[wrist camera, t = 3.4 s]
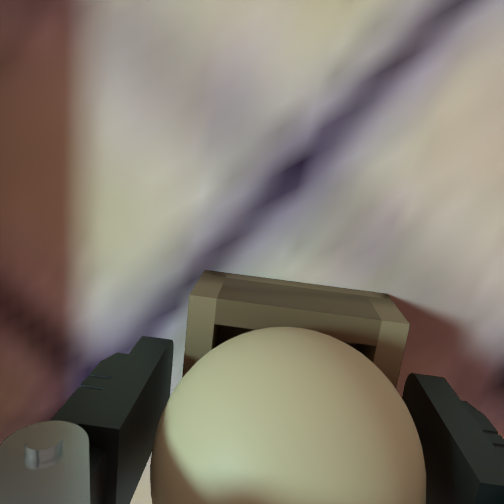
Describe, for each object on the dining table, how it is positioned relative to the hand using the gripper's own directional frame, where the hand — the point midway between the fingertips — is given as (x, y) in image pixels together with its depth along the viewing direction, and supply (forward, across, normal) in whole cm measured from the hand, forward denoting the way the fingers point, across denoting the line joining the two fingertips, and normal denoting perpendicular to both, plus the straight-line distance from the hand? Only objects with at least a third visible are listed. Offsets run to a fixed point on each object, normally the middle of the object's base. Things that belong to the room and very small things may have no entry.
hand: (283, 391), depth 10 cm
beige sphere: (-2, 0, 0) cm, 2 cm away
